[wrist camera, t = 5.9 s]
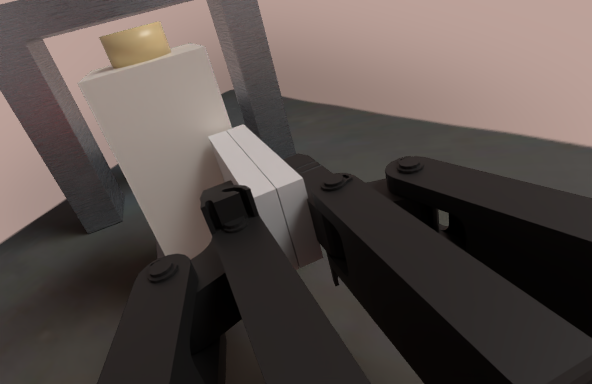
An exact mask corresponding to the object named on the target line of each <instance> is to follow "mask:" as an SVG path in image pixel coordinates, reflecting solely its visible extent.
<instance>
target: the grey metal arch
mask: <svg viewBox="0 0 592 384" xmlns="http://www.w3.org/2000/svg"><path fill="white" fill-rule="evenodd" d="M188 1H192V0H18V1H13V2H9V3H5V4H1V5H0V90H1V92H2V94H3V95H4V97H5V98H6V100H7V102H8V103H9V105H10V107H11V108H12V110H13V112H14V113H15V115H16V116H17V118H18V119H19V121H20V123H21V124H22V126H23V128H24V130H25V131H26V133H27V134H28V136H29V138H30V139H31V141H32V142H33V144H34V146H35V148H36V149H37V151H38V153H39V154H40V155H41V157H42V159H43V161H44V162H45V164H46V166H47V167H48V169H49V170H50V172H51V174H52V175H53V177H54V179H55V180H56V182H57V183H58V185H59V187H60V189H61V190H62V192H63V193H64V195H65V197H66V198H67V200H68V202H69V203H70V205H71V207H72V208H73V210H74V211H75V213H76V215H77V216H78V218H79V220H80V221H81V223H82V225H83V226H84V228H85V230H86V231H87V233H88V234H90V233H92V232H95V231H97V230H100V229H103V228H105V227H108V226H111V225H113V224H116V223H118V222H121V221H122V220H123V206H124V194H123V192H122V190H121V189H120V187H119V185H118V183H117V181H116V179H115V177H114V175H113V173H112V171H111V169H110V168H109V166H108V164H107V162H106V160H105V158H104V156H103V154H102V152H101V150H100V148H99V147H98V145H97V143H96V141H95V139H94V137H93V135H92V133H91V131H90V129H89V127H88V125H87V124H86V122H85V120H84V118H83V116H82V114H81V112H80V110H79V108H78V106H77V104H76V103H75V101H74V99H73V97H72V95H71V93H70V91H69V89H68V87H67V85H66V83H65V81H64V80H63V78H62V76H61V74H60V72H59V70H58V68H57V66H56V64H55V62H54V61H53V58H52V57H51V55H50V53H49V51H48V49H47V47H46V45H45V43H44V41H43V39H44V38H48V37H52V36H56V35H59V34H63V33H67V32H72V31H75V30H79V29H83V28H87V27H91V26H95V25H99V24H102V23H106V22H110V21H114V20H118V19H122V18H126V17H129V16H133V15H137V14H141V13H145V12H149V11H153V10H157V9H160V8H165V7H168V6H172V5H176V4H180V3H183V2H188ZM207 3H208V6H209V10H210V13H211V16H212V19H213V23H214V26H215V29H216V32H217V35H218V39H219V41H220V45H221V48H222V51H223V55H224V58H225V61H226V64H227V67H228V71H229V74H230V77H231V80H232V84H233V87H234V90H235V93H236V96H237V100H238V103H239V106H240V109H241V112H242V116H243V119H244V122H245V125H246V127H247V128H248V129H249V130H250V131H251V132H253V133H254V134H255V135H256V136H257V137H258V138H259V139H260V140H261V141H262V142H264V143H265V144H266V145H267V146H268V147H269V148H270V149H271V150H272V151H274V152H275V153H276V154H277V155H278V156H279V157H280V158H281V159H285V158H288V157H290V156H293V155H295V154H296V152H295V148H294V144H293V140H292V136H291V132H290V128H289V124H288V120H287V116H286V112H285V108H284V104H283V101H282V97H281V93H280V89H279V85H278V81H277V77H276V73H275V69H274V65H273V61H272V57H271V54H270V49H269V46H268V41H267V37H266V34H265V30H264V26H263V22H262V18H261V14H260V10H259V6H258V2H257V0H207Z"/></svg>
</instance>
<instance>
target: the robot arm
mask: <svg viewBox="0 0 592 384" xmlns="http://www.w3.org/2000/svg"><path fill="white" fill-rule="evenodd" d="M226 131H227V132H226ZM226 131H223V132H220V133H217V134H214V135H211V136H209V137H208V138H209V141H210V144H211V146H212V149H213V152H214V154H215V157H216V160H217V163H218V165H219V168H220V171H221V173H222V176H223V179H224V183H222V184H219V185H217V186H214V187H211V188H209V189H206V190H203V192H202V194H201V197H200V201H201V206H200V209H201V211H202V213H203V216H204V218H205V221H206V223H207V225H208V228H209V230H210V233H211V235H212V239H211V242H210V243H209V245H208V246H207V247H206V248H205V249H204V250H203V251H202V252H201V253H200V254H198V255H197V256H196V257H194V258H192V259H191V260H190V258H189V257H187V256H186V255H184V254H171V255H167V256H164V257H161V258H158V259H156V260H154V261H152V262H151V263H150V264H148V265H147V266H146V267H145V268H144V269H143V270H142V271H141V272H140V273H139V275H138V276H137V278H136V279H135V282H134V285H133V287H132V290H131V293H130V295H129V298H128V301H127V304H126V306H125V309H124V312H123V314H122V317H121V320H120V323H119V325H118V328H117V331H116V333H115V336H114V339H113V342H112V344H111V347H110V350H109V352H108V355H107V358H106V361H105V363H104V366H103V369H102V371H101V374H100V377H99V380H98V382H97V384H225V371H226V336H225V332H226V331H227V330H229V329H230V328H231V327H232V326H234V325H235V324H236V323H237V322H239V321H240V320H241V319H242V320H243V323H244V325H245V328H246V331H247V333H248V336H249V339H250V342H251V344H252V347H253V350H254V353H255V355H256V358H257V361H258V364H259V366H260V369H261V372H262V375H263V377H264V380H265V383H266V384H371V383H370V382H369V380H368V379H367V377H366V376H365V374H364V373H363V371H362V370H361V368H360V367H359V365H358V364H357V362H356V361H355V359H354V358H353V356H352V355H351V353H350V352H349V350H348V349H347V347H346V345H345V344H344V342H343V341H342V339H341V338H340V336H339V335H338V333H337V332H336V330H335V329H334V327H333V326H332V324H331V323H330V321H329V320H328V318H327V317H326V315H325V314H324V312H323V311H322V309H321V308H320V306H319V305H318V303H317V302H316V300H315V299H314V297H313V296H312V294H311V293H310V291H309V290H308V288H307V287H306V285H305V284H304V282H303V281H302V279H301V278H300V276H299V275H298V273H297V272H296V270H297V269H299V267H300V268H302V267H304V266H306V265H308V264H310V263H313V262H315V261H317V260H319V259H321V258H323V255H322V251H321V247H320V244H321V245H322V246H323V248H324V249H325V250H326V252H327V256H328V260H329V265H330V269H331V273H332V277H333V281H334V284H335V286H338V285H339V283H338V276H339V277H340V279H341V280H342V281H343V282H344V284H345V285H346V286H347V287H348V289H349V290H350V291H351V292H352V294H353V295H354V296H355V297H356V299H357V300H358V301H359V302H360V304H361V305H362V306H363V307H364V309H365V310H366V311H367V312H368V314H369V315H370V316H371V317H372V319H373V320H374V321H375V322H376V324H377V325H378V326H379V327H380V329H381V330H382V331H383V332H384V334H385V335H386V336H387V337H388V339H389V340H390V341H391V342H392V344H393V345H394V346H395V347H396V349H397V350H398V351H399V352H400V354H401V355H402V356H403V358H404V359H405V360H406V361H407V363H408V364H409V365H410V366H411V368H412V369H413V370H414V371H415V373H416V374H417V375H418V376H419V378H420V379H421V380H422V381H423V383H424V384H592V198H588V197H584V196H580V195H576V194H572V193H568V192H564V191H560V190H556V189H552V188H548V187H544V186H540V185H536V184H532V183H527V182H523V181H519V180H515V179H511V178H507V177H503V176H499V175H495V174H491V173H487V172H483V171H479V170H475V169H471V168H466V167H462V166H458V165H454V164H450V163H446V162H442V161H438V160H434V159H430V158H426V157H418V156H414V157H411V156H406V157H404V158H403V157H402V158H399V159H397V160H395V161H393V162H391V163H390V164H388V165H387V166H386V169H385V173H386V179H382V180H377V181H373V182H367V183H365V182H363V181H362V180H360V179H359V178H357V177H356V176H354V175H351V174H347V173H336V174H333V173H331V172H330V171H329V170H327V169H326V168H325V167H323V166H322V165H320V164H319V163H318V162H317V161H315V160H314V159H312V158H311V157H310V156H308V155H303V154H295V155H293V156H290V157H288V158H285V159H281V158H280V157H279V156H278V155H277V154H276V153H275V152H274V151H272V150H271V149H270V148H269V147H268V146H267V145H266V144H265V143H264V142H262V141H261V140H260V139H259V138H258V137H257V136H256V135H255V134H254V133H253V132H251V131H250V130H249V129H248V128H247V127H246V126H245V125H244V124H243V125H240V126H237V127H235V128H232V129H229V130H226ZM438 209H439V210H442V211H445V212H447V213H449V226H443V225H441V224H439V214H438Z"/></svg>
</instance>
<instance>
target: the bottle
mask: <svg viewBox="0 0 592 384" xmlns="http://www.w3.org/2000/svg"><path fill="white" fill-rule="evenodd" d="M100 40H101V42H102V44H103V46H104V49H105V51H106V53H107V56H108V58H109V60H110V62H111V64H112V65H111V66H107V67H104V68H100V69H97V70H93V71H91V72H90V73H89V74H88V75H86V76H85V77H84V78H83V79H82V80H81V81H80V82H79V83H78V85H79V87H80V89H81V91H82V93H83V95H84V97H85V99H86V101H87V103H88V105H89V107H90V109H91V111H92V113H93V115H94V117H95V119H96V121H97V123H98V125H99V126H100V129H101V130H102V133H103V135H104V136H105V138H106V140H107V142H108V144H109V146H110V148H111V150H112V152H113V154H114V156H115V158H116V160H117V162H118V164H119V166H120V168H121V170H122V172H123V174H124V176H125V178H126V180H127V182H128V184H129V186H130V188H131V190H132V192H133V194H134V196H135V198H136V200H137V201H138V203H139V205H140V207H141V209H142V211H143V213H144V215H145V217H146V219H147V221H148V223H149V225H150V227H151V229H152V231H153V233H154V235H155V238H156V249H157V259H158V258H161V257H164V256H167V255H171V254H184V255H186V256H187V257H189V258H190V260H191V259H192V258H194V257H196V256H197V255H198V254H200V253H201V252H202V251H203V250H204V249H205V248H206V247H207V246H208V245H209V243H210V242H211V239H212V235H211V233H210V230H209V228H208V225H207V223H206V221H205V218H204V216H203V213H202V211H201V209H200V206H201V201H200V197H201V194H202V192H203V190H206V189H209V188H211V187H214V186H217V185H219V184H222V183H224V179H223V176H222V173H221V171H220V168H219V165H218V163H217V160H216V157H215V154H214V152H213V149H212V146H211V144H210V141H209V138H208V137H209V136H211V135H214V134H217V133H220V132H223V131H226V130H229V129H232V127H231V124H230V121H229V118H228V115H227V111H226V108H225V105H224V102H223V99H222V96H221V93H220V90H219V87H218V85H217V81H216V78H215V75H214V72H213V69H212V66H211V63H210V60H209V57H208V54H207V51H206V48H205V46H201V45H196V44H192V43H188V44H185V45H181V46H178V47H174V48H171V49H170V47H169V44H168V42H167V39H166V36H165V34H164V31H163V28H162V26H161V23H160V21H159V22H155V23H151V24H147V25H143V26H140V27H135V28H132V29H128V30H124V31H121V32H117V33H113V34H109V35H106V36H102V37H100ZM226 132H227V131H226Z"/></svg>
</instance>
